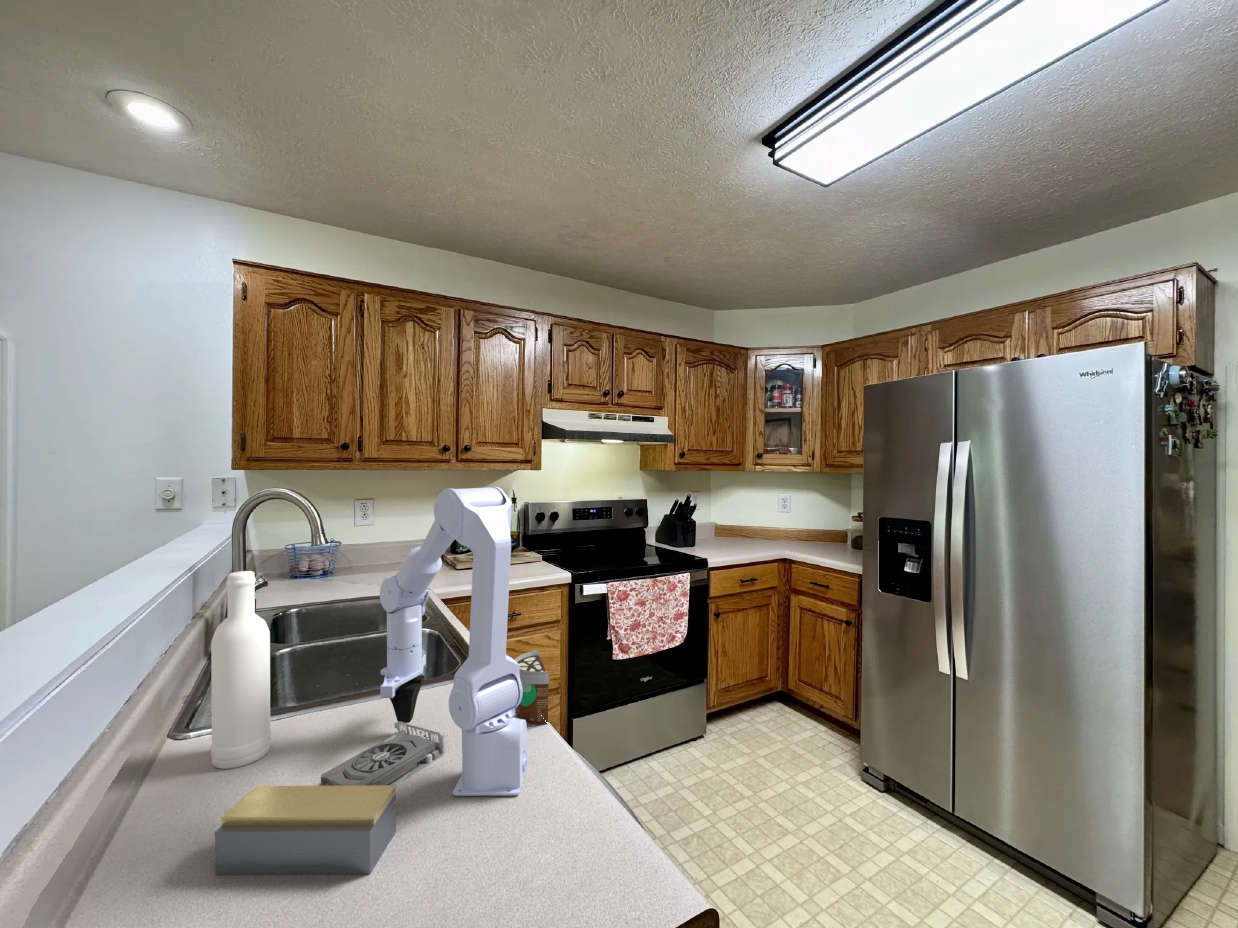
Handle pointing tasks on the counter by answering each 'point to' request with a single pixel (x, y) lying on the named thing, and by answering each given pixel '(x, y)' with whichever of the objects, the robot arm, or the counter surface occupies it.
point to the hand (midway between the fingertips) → (405, 721)
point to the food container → (533, 689)
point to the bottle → (240, 679)
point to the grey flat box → (306, 830)
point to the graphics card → (389, 759)
